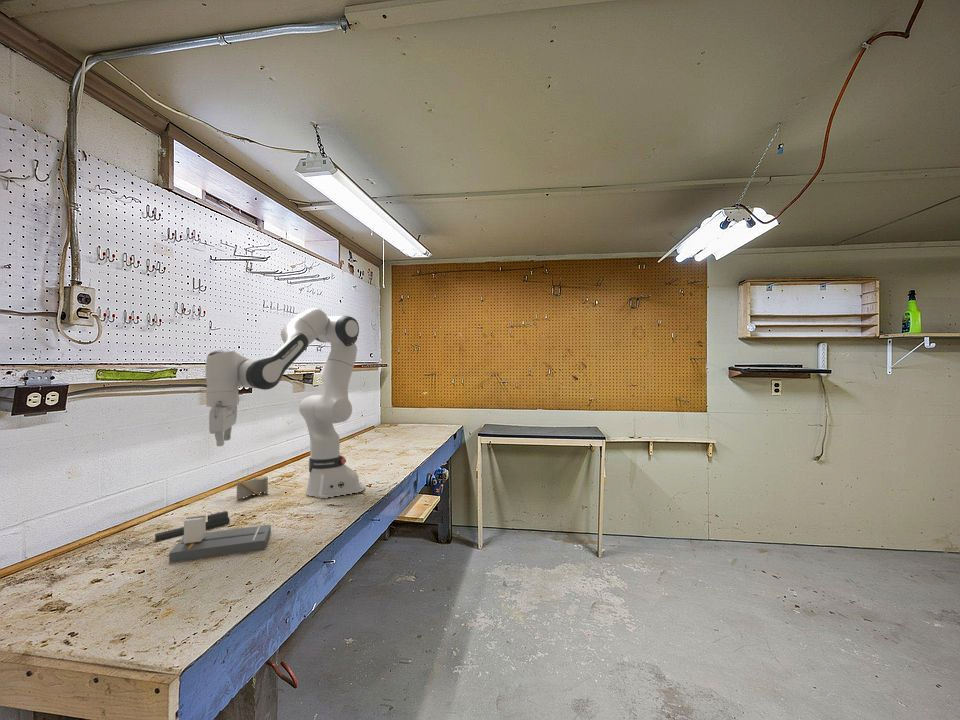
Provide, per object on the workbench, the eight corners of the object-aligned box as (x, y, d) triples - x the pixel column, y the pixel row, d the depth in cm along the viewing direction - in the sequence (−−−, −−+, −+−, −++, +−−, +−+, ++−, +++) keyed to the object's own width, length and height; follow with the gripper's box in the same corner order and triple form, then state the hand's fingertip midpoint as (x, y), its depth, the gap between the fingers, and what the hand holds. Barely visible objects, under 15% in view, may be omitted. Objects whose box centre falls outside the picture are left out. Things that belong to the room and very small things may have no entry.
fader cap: (205, 535, 115) (205, 513, 115) (201, 541, 111) (201, 518, 111) (188, 537, 114) (188, 515, 114) (183, 543, 110) (183, 520, 110)
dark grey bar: (156, 543, 118) (156, 529, 118) (155, 541, 120) (155, 526, 120) (230, 525, 131) (230, 512, 131) (227, 523, 133) (227, 510, 133)
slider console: (270, 532, 124) (270, 524, 124) (264, 549, 113) (264, 539, 113) (184, 543, 117) (184, 534, 117) (169, 562, 105) (169, 552, 105)
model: (267, 494, 163) (267, 475, 163) (241, 502, 154) (242, 482, 154) (262, 493, 165) (262, 474, 165) (236, 501, 155) (236, 481, 155)
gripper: (226, 402, 123) (228, 448, 123) (239, 396, 142) (241, 436, 142) (202, 403, 120) (203, 450, 121) (218, 397, 140) (220, 438, 140)
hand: (224, 442), depth 131 cm, fingers open, 8 cm apart
